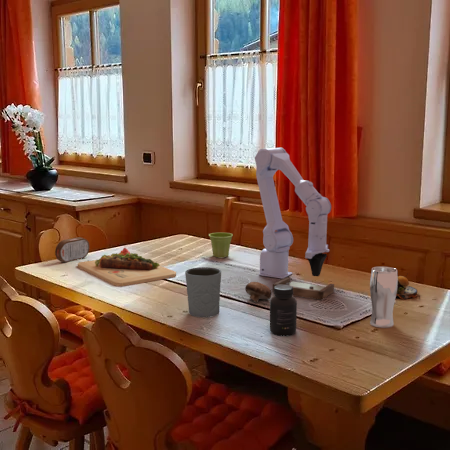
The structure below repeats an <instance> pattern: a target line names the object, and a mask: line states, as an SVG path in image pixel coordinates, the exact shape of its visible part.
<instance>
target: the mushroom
mask: <svg viewBox="0 0 450 450" xmlns="http://www.w3.org/2000/svg"><path fill="white" fill-rule="evenodd" d="M244 289H245V292H246V294H247V295H249V298H250V300H252V301H253V302H255V303H258V302H259V300H262V301H263V300H269V299H271V298H272V291H271V288H270V287H268V286H267V285H266V284H264V283H261V282H258V281H251V282H250V281H249V282H248V283H247V284H245V287H244Z"/></svg>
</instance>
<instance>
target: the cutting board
mask: <svg viewBox="0 0 450 450" xmlns="http://www.w3.org/2000/svg"><path fill="white" fill-rule="evenodd" d="M77 268H79V269H81V270H82V271H85V272H86V273H88V274H91V275H93V276H94V277H97V278H99V279H101V280H102V281H105V282H106V283H109V284H111V285H112V286H116V287H117V286H118V287H125V286H130V285H131V286H132V285H138V284H142V283H148V282H149V283H150V282H155V281H160V280H166V279H165V278H167V279H170V278H169V277H172V278H176V277H177V271H175V270H172V269H170V268H167V267H164V266H162V265H160V263H158V262H157V261H156V262H155V261H153V260H152V258H145V257H143V255H138V253H134V252H133V253H132V252H130V251H129V250H128V248H126V247H123V249H122V250H120V252H119V253H118V252H117V253H111V254H110V255H106V254H103V255H101V257H100V258H99V259H95V260H87V261H86V260H85V261H81V262H80V261H79V262H78V263H77ZM175 276H176V277H175Z"/></svg>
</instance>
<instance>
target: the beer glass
mask: <svg viewBox="0 0 450 450" xmlns="http://www.w3.org/2000/svg"><path fill="white" fill-rule="evenodd" d="M397 277H398V269H397V268H394V267H390V266H374V267H372V268H371V272H370V280H369V281H370V282H369V294H370V301H371V316H370V320H369V324H370V325H371V326H372V327H374V328H375V327H376V328H380V329H390V328H393V327H394V325H395V324H394V315H393V313H394V307H395V306H394V305H395V302H396V297H397V296H396V293H397V283H398V279H397Z"/></svg>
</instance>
